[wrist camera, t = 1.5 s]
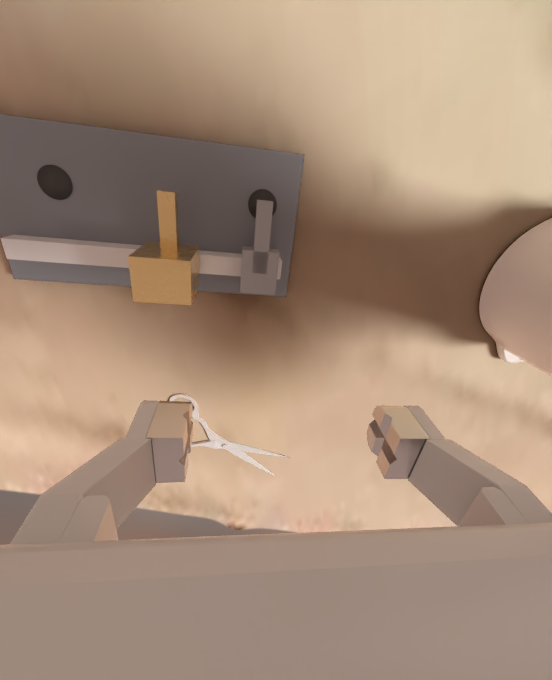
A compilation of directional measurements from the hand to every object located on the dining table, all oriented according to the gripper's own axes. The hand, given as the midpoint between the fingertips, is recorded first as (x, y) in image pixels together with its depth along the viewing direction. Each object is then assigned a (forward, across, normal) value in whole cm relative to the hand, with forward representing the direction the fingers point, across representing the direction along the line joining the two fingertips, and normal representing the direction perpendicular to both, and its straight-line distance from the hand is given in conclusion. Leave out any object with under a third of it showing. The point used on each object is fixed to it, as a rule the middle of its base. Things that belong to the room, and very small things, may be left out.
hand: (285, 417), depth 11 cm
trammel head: (+19, +7, -2) cm, 21 cm away
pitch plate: (+21, +9, -3) cm, 23 cm away
